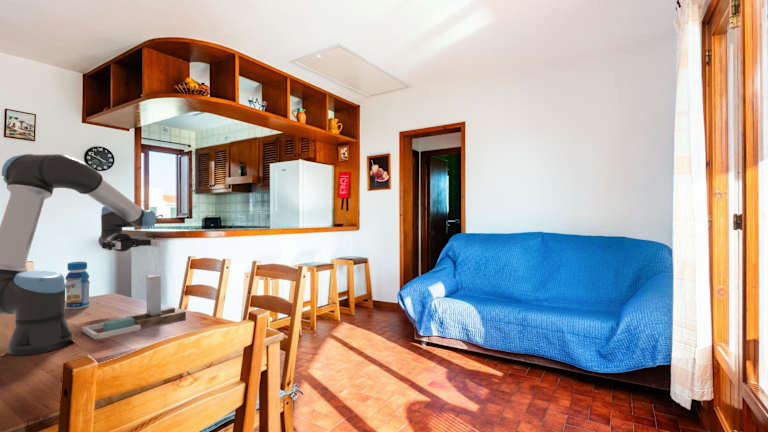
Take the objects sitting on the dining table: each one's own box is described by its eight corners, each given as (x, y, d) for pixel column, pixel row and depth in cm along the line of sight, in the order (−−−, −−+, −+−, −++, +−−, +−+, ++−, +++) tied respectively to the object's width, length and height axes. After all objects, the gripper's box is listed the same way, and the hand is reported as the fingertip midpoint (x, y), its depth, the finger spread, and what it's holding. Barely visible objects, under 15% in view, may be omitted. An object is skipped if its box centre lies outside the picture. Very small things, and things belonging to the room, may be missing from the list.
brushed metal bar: (152, 323, 138) (151, 277, 138) (145, 321, 142) (145, 275, 141) (162, 321, 141) (161, 276, 141) (155, 318, 144) (155, 274, 144)
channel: (139, 332, 132) (138, 321, 132) (127, 327, 139) (126, 316, 139) (185, 322, 145) (185, 311, 145) (172, 317, 152) (172, 307, 152)
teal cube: (107, 335, 128) (107, 324, 128) (103, 333, 130) (103, 322, 130) (121, 332, 131) (121, 321, 131) (117, 330, 133) (117, 319, 133)
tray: (95, 344, 121) (95, 334, 121) (81, 335, 130) (81, 327, 129) (140, 333, 131) (140, 325, 131) (125, 326, 140) (125, 318, 140)
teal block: (121, 332, 131) (121, 321, 131) (117, 330, 133) (117, 319, 133) (134, 329, 134) (134, 318, 134) (130, 327, 137) (129, 316, 136)
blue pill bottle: (93, 306, 170) (92, 262, 170) (70, 310, 163) (69, 264, 163) (85, 304, 174) (84, 260, 174) (62, 308, 167) (61, 262, 167)
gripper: (151, 249, 171) (173, 251, 159) (83, 253, 152) (101, 256, 139) (151, 232, 171) (173, 233, 159) (83, 234, 152) (101, 236, 139)
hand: (139, 244), depth 149 cm, fingers open, 13 cm apart
